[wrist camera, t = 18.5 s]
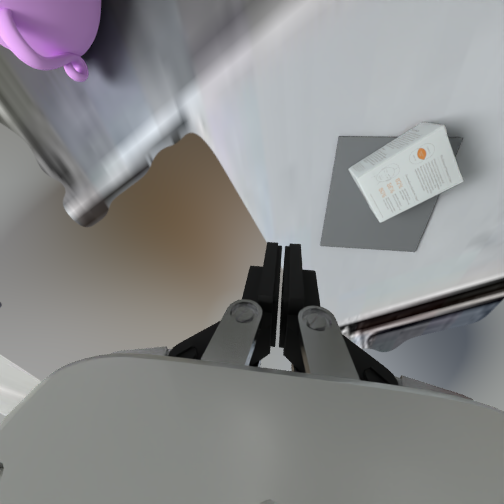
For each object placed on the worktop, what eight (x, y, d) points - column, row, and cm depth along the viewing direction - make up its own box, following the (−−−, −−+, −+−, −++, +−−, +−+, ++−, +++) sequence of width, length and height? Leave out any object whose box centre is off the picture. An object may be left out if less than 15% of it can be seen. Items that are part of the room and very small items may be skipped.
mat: (338, 136, 34) (339, 136, 34) (460, 137, 32) (463, 138, 32) (320, 244, 44) (320, 245, 43) (413, 250, 42) (414, 251, 41)
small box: (369, 209, 39) (442, 171, 34) (380, 224, 34) (466, 182, 29) (347, 167, 36) (423, 120, 31) (355, 177, 31) (446, 123, 27)
